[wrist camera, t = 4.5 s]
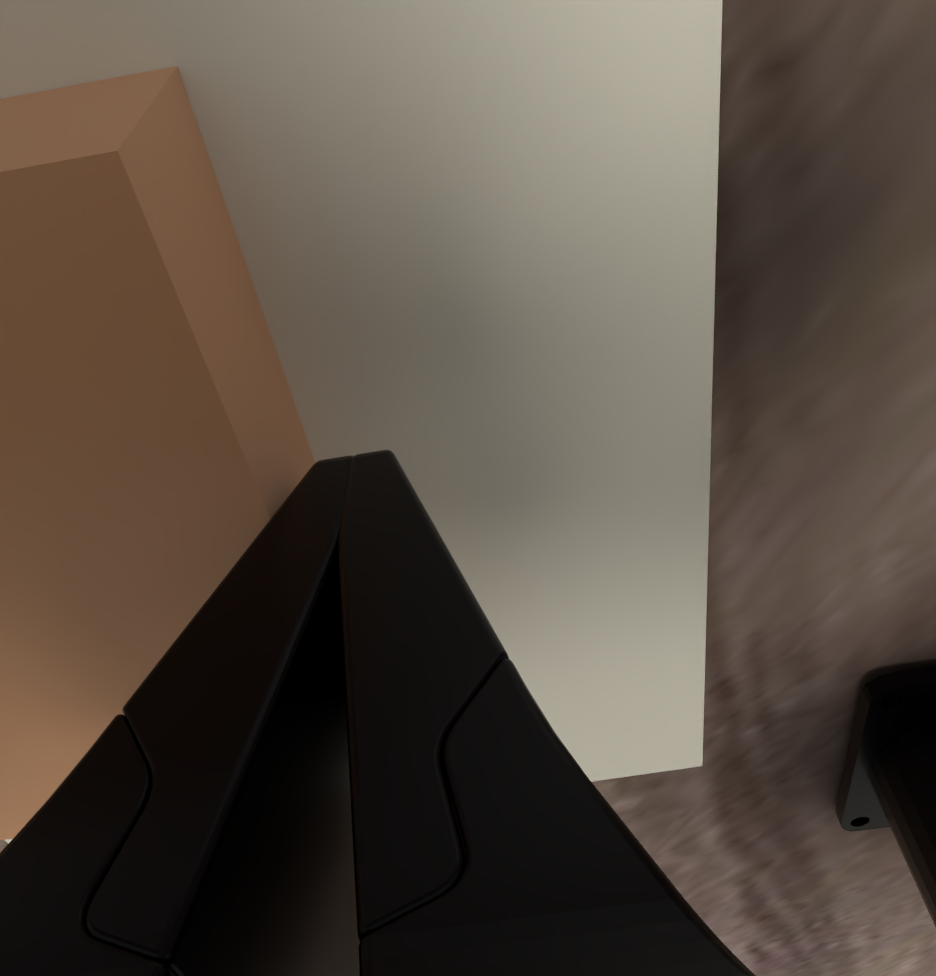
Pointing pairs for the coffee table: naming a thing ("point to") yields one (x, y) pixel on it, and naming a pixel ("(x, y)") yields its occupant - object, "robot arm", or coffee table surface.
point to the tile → (119, 410)
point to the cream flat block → (481, 293)
